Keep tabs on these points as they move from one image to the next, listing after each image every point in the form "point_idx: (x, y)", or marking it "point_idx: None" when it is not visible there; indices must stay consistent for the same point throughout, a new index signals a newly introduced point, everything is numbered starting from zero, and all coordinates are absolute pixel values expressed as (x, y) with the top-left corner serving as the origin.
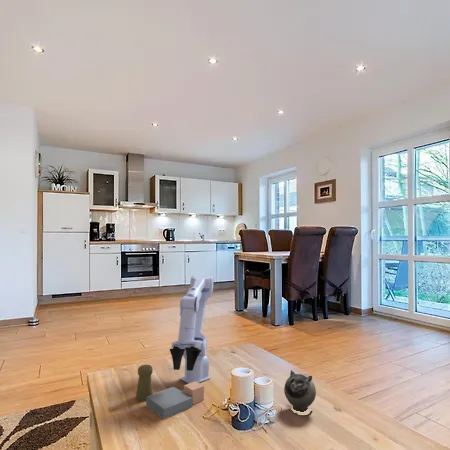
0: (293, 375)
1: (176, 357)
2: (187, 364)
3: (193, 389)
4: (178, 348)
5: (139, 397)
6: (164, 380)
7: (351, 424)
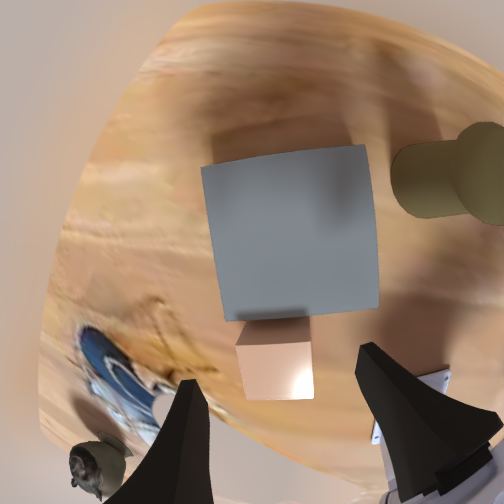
0: (93, 489)
1: (403, 420)
2: (177, 411)
3: (240, 351)
4: (431, 487)
5: (412, 146)
6: (481, 316)
7: (72, 438)
